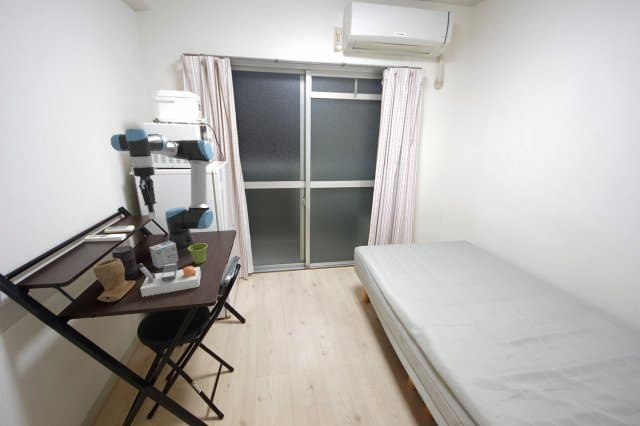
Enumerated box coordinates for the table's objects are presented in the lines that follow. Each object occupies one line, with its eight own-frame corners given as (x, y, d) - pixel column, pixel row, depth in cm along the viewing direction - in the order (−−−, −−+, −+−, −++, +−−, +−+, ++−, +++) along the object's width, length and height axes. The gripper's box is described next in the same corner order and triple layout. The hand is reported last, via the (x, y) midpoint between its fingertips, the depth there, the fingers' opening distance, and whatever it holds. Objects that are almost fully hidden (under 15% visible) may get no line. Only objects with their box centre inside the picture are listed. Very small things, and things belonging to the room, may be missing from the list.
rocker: (165, 266, 118) (164, 263, 117) (177, 264, 120) (176, 261, 119) (162, 281, 111) (161, 277, 110) (175, 279, 113) (174, 275, 112)
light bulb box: (173, 257, 144) (169, 240, 140) (179, 261, 140) (176, 242, 137) (152, 265, 135) (148, 246, 132) (158, 269, 131) (154, 249, 128)
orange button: (185, 278, 121) (183, 267, 119) (195, 276, 122) (194, 265, 120) (184, 283, 117) (182, 271, 115) (195, 281, 118) (193, 269, 116)
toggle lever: (150, 279, 115) (136, 263, 111) (156, 276, 115) (141, 261, 111) (149, 282, 112) (134, 266, 109) (154, 279, 113) (140, 263, 109)
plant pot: (202, 266, 134) (200, 251, 132) (186, 264, 136) (184, 249, 133) (212, 258, 143) (210, 243, 140) (198, 256, 145) (195, 242, 142)
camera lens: (116, 283, 119) (108, 253, 114) (121, 275, 126) (114, 247, 122) (137, 279, 122) (130, 250, 118) (141, 271, 129) (134, 244, 125)
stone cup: (111, 285, 117) (103, 255, 113) (139, 283, 119) (133, 253, 115) (88, 305, 103) (78, 272, 99) (120, 303, 105) (112, 270, 100)
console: (149, 282, 119) (147, 271, 117) (200, 273, 126) (199, 263, 125) (142, 297, 108) (139, 284, 107) (198, 286, 116) (196, 275, 114)
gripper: (137, 165, 115) (147, 215, 122) (127, 168, 103) (139, 223, 110) (156, 164, 117) (165, 213, 124) (149, 167, 106) (159, 221, 112)
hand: (153, 218), depth 117 cm, fingers closed
